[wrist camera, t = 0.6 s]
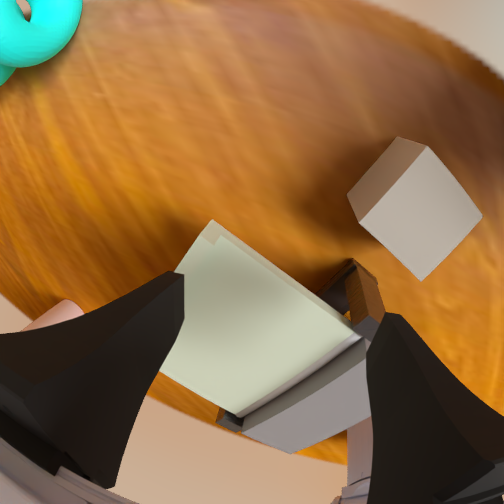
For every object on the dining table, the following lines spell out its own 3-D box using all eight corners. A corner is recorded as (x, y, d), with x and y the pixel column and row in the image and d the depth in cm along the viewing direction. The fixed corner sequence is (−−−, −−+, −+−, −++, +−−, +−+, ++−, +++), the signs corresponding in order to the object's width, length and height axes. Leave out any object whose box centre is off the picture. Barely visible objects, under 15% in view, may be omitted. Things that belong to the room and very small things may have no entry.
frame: (376, 278, 20) (394, 334, 15) (250, 381, 27) (237, 433, 21) (352, 258, 20) (366, 313, 14) (229, 369, 26) (213, 421, 21)
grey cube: (446, 190, 16) (483, 216, 12) (398, 242, 19) (420, 281, 14) (396, 136, 16) (427, 145, 11) (345, 194, 18) (358, 222, 13)
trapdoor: (404, 350, 18) (415, 389, 15) (294, 420, 24) (290, 454, 21) (219, 210, 16) (197, 236, 13) (138, 329, 22) (117, 360, 18)
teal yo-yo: (87, 61, 16) (-23, 61, 7) (13, 94, 18) (-74, 113, 9) (95, -40, 12) (9, -71, 3) (18, 5, 13) (-60, 3, 4)
